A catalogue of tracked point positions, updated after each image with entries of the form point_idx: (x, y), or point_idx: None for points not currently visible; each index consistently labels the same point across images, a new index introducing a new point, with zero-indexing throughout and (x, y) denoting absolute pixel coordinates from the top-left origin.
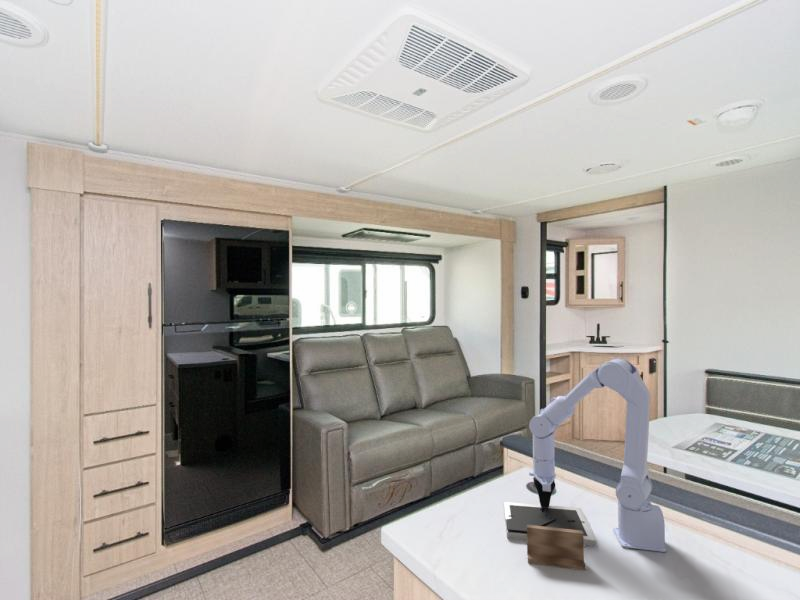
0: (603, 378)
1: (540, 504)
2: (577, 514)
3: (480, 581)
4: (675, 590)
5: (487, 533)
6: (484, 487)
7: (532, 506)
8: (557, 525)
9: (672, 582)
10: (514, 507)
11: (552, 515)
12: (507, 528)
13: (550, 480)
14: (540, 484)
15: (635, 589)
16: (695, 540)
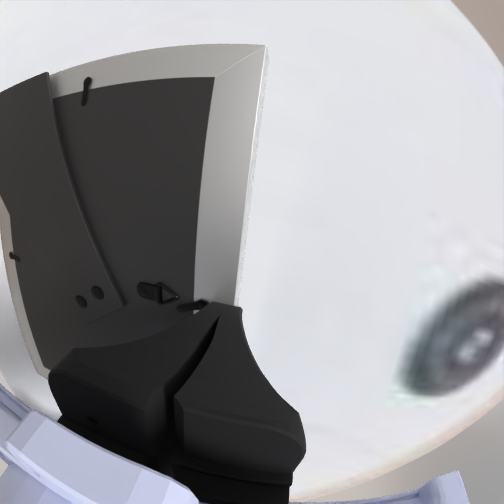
0: None
1: (208, 304)
2: None
3: None
4: (14, 391)
5: (52, 29)
6: (484, 48)
7: (204, 243)
8: (52, 306)
9: (25, 401)
10: (179, 107)
11: (116, 323)
12: (2, 93)
13: (6, 462)
14: (59, 403)
15: None
16: None
